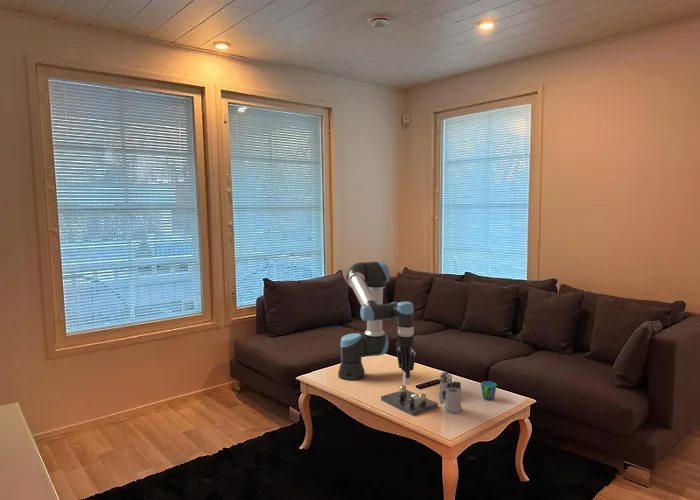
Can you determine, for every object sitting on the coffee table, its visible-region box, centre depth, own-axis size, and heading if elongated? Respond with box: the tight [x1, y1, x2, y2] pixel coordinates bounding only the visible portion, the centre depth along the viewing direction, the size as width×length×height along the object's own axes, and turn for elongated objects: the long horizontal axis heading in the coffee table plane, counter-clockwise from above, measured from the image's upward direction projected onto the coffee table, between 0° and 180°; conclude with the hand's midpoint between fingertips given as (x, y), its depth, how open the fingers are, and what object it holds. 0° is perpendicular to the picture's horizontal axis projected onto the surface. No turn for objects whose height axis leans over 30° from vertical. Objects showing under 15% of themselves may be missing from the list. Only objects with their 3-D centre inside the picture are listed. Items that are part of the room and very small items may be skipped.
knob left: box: [399, 384, 407, 400], centre depth 245 cm, size 3×10×4 cm, turn 169°
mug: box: [438, 382, 463, 414], centre depth 234 cm, size 8×12×12 cm, turn 43°
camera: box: [439, 371, 462, 399], centre depth 253 cm, size 16×10×10 cm, turn 165°
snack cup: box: [480, 380, 498, 401], centre depth 247 cm, size 11×8×7 cm
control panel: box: [380, 389, 439, 416], centre depth 242 cm, size 23×16×4 cm
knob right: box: [409, 393, 427, 407], centre depth 235 cm, size 3×10×4 cm, turn 125°
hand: (406, 384), depth 237 cm, fingers closed
